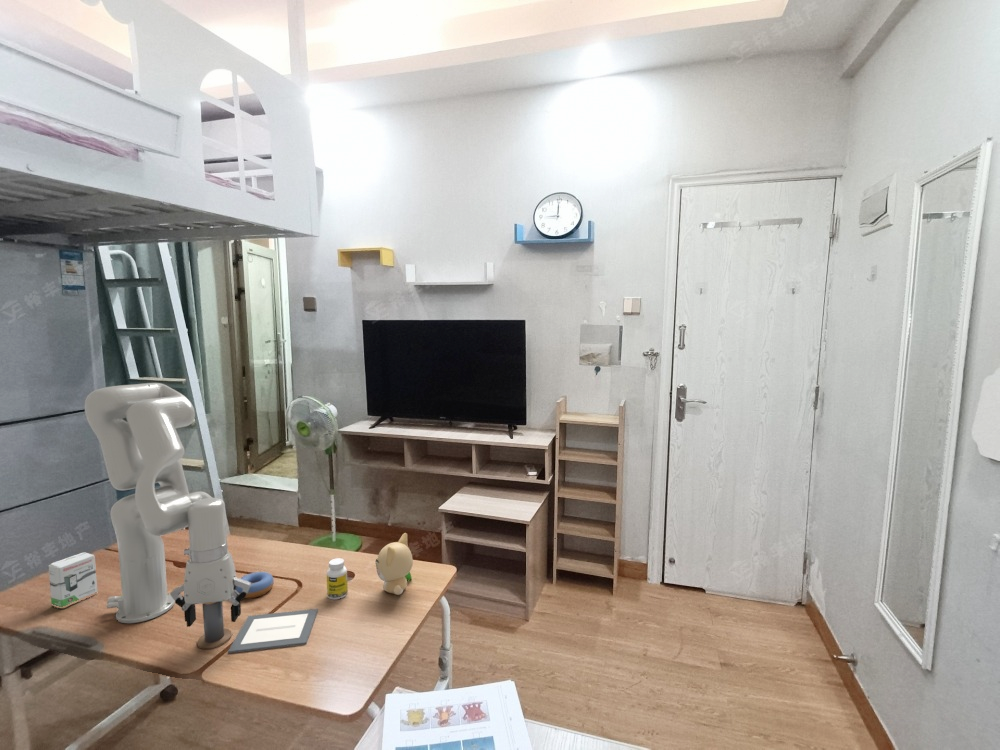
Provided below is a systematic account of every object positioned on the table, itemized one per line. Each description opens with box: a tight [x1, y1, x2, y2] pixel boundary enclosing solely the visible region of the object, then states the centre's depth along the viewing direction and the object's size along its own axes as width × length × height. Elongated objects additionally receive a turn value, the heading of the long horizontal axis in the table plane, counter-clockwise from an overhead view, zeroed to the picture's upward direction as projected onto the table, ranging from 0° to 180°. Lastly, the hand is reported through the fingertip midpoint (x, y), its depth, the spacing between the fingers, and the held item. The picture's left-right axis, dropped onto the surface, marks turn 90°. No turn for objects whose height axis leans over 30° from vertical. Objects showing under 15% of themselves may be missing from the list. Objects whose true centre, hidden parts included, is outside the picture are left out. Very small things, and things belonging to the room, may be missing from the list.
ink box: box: [48, 551, 98, 607], centre depth 132 cm, size 9×5×12 cm, turn 159°
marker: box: [202, 601, 225, 643], centre depth 114 cm, size 4×4×11 cm
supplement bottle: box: [326, 557, 349, 600], centre depth 134 cm, size 5×5×10 cm
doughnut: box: [236, 571, 275, 599], centre depth 137 cm, size 10×10×5 cm
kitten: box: [375, 532, 414, 596], centre depth 136 cm, size 15×10×15 cm, turn 164°
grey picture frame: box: [227, 608, 319, 654], centre depth 118 cm, size 17×14×1 cm
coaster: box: [197, 627, 233, 650], centre depth 115 cm, size 7×7×1 cm
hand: (213, 621), depth 114 cm, fingers open, 9 cm apart
